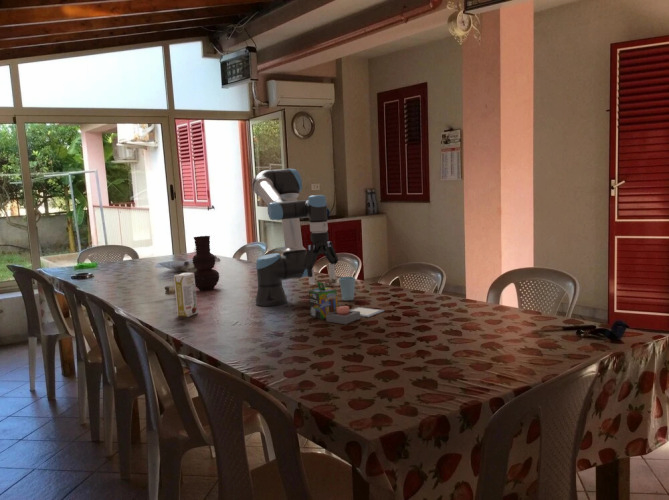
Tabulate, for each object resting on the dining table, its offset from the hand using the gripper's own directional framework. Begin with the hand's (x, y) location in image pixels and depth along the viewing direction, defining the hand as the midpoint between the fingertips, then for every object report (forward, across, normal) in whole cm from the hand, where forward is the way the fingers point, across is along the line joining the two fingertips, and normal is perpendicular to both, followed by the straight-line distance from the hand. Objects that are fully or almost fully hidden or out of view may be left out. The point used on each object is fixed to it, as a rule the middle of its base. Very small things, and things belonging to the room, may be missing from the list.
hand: (322, 281), depth 244 cm
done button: (+13, -2, -12) cm, 17 cm away
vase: (+14, +15, +98) cm, 101 cm away
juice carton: (+15, -27, +60) cm, 67 cm away
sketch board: (+15, +12, -12) cm, 23 cm away
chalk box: (+15, 0, 0) cm, 15 cm away
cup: (+15, +30, +10) cm, 35 cm away
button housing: (+15, -2, -12) cm, 19 cm away
